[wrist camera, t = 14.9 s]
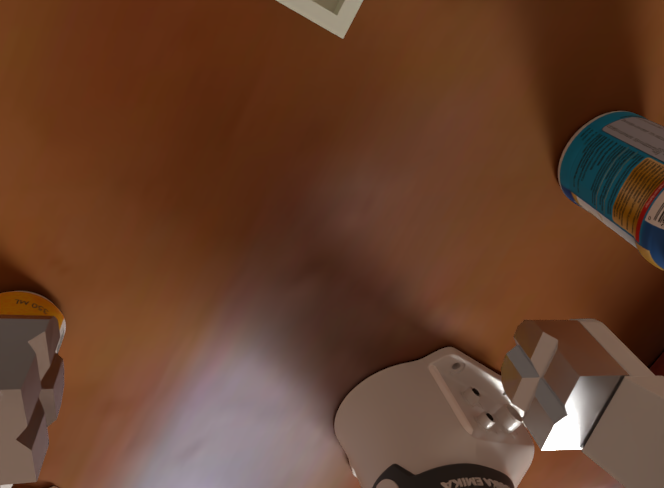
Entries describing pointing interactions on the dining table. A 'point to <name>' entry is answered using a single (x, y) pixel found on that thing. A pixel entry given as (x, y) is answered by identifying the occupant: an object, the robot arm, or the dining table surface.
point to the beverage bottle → (620, 178)
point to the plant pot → (658, 366)
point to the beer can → (30, 313)
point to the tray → (327, 13)
